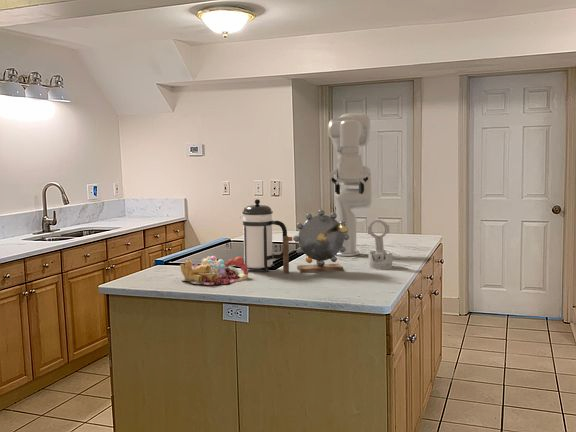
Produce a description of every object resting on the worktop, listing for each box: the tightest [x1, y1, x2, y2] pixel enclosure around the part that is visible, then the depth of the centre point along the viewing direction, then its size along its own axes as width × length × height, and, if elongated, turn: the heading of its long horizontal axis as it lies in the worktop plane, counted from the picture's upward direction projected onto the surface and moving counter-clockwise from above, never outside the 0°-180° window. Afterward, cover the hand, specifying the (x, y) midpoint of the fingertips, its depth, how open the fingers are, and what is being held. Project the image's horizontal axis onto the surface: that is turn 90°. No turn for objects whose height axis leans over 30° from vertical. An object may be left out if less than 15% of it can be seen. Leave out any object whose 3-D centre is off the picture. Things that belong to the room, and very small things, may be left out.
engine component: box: [366, 218, 393, 270], centre depth 255 cm, size 11×20×10 cm
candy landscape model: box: [179, 255, 249, 286], centre depth 236 cm, size 25×24×9 cm
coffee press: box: [239, 198, 288, 273], centre depth 252 cm, size 17×16×30 cm
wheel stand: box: [282, 235, 344, 274], centre depth 250 cm, size 25×8×15 cm, turn 101°
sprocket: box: [292, 209, 349, 266], centre depth 243 cm, size 23×11×23 cm, turn 101°
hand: (349, 193), depth 241 cm, fingers open, 9 cm apart
